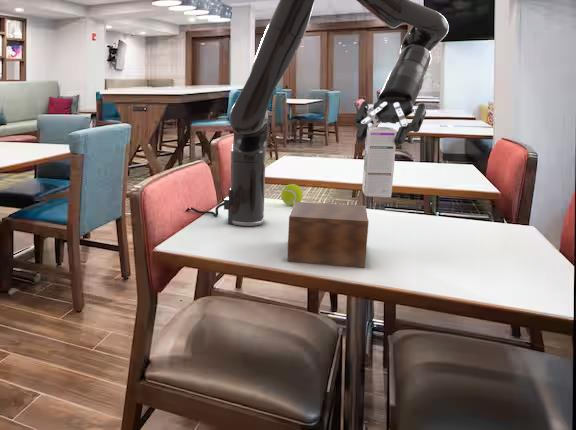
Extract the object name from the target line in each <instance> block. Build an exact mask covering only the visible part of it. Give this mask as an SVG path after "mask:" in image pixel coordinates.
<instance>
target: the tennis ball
mask: <svg viewBox="0 0 576 430" xmlns="http://www.w3.org/2000/svg"><path fill="white" fill-rule="evenodd" d="M280 197H281V200H282V201H283V203H284V204H285V205H287V206H292V207H293V206H294V203H295V202H302V200H303V197H304V193H303V190H302V188H301V187H300V186H299V185H297V184H294V183H290V184H287V185H285V186H284V187H283V188H282V190H281V192H280Z"/></svg>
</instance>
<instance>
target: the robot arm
mask: <svg viewBox="0 0 576 430" xmlns="http://www.w3.org/2000/svg"><path fill="white" fill-rule="evenodd" d="M315 1H316V0H279V1H278V4H277V6H276V8H275V9H274V12H273V13H272V16H271V18H270V20H269V22H268V25H267V26H266V29H265V31H264V34H263V37H262V38H261V41H260V44H259V47H258V49H257V52H256V55H255V57H254V60H253V63H252V65H251V66H252V67H251V70H250V72H249V75H248V77H247V80H246V81H245V84H244V85H243V87H242V89H241V91H240V93H239V95H238V97H237V99H236V100H235V102H234V104H233V106H232V107H231V109H230V111H229V124H230V127H231V129H232V130H233V140H232V145H231V150H230V183H229V184H230V185H229V187H230V188H229V189H228V196H226V197H225V198H224V199H223V202H222V203H219V204H218V205H217V206H216V207H215V210H214V211H215V212H214V211H211V210H198V209H196V208H194V207H191V206H190V207H191V209H189V207H187V208H185V212H189V211H192V212H195V213H197V214H202V215H205V214H206V215H213V216H214V217H218V216H219V209H220V208H221V207H223V210H224V211H225V210H227V224H229V225H235V226H238V227H239V226H240V227H257V226H262V225H263V224H264V223H265V214H264V213H265V190H266V189H265V187H266V186H265V185H266V184H265V183H266V156H267V149H268V138H269V137H268V133H269V112H268V108H269V105H270V102H271V99H272V97H273V95H274V92H275V90H276V88H277V86H278V84H279V83H280V81H281V80H282V78H283V77H284V75H285V74H286V72H287V71H288V69H289V68H290V66H291V64H292V62H293V60H294V58H295V57H296V54H297V53H298V51H299V48H300V46H301V44H302V42H303V39H304V37H305V34H306V32H307V29H308V26H309V24H310V20H311V16H312V12H313V9H314V5H315ZM356 2H358V3H359V4H360V5H361V6H362V7H363V8H364V9H366V10H367V11H368V12H370V13H371V14H372V15H373V16H374V17H376V18H377V19H378V20H379V21H380V22H382V23H383V24H385V26H387V27H388V28H390V29H397V28H398V27H400V26H401V25H404V24H406V25H409V26H411V28H410V29H409V30H408V31H407V32H406V34H405V35H404V37H403V39H402V41H401V45H400V50H399V55H398V57H397V59H396V62H395V64H394V65H393V67H392V69H391V71H390V72H389V74H388V76H387V78H386V80H385V83H384V85H383V86H382V89H381V92H380V93H379V96H378V99H377V101H376V102H375V103H368V101H366V100H365V101H362V102H361V104H360V106H359V108H358V110H357V113H356V115H355V117H354V119H353V121H354V123H355V127H356V128H357V129H358V130H357V132H356V139H357V141H358V143H359V144H364V142H365V141H366V132H367V127H378V125H380V124H387V123H389V124H393V125H394V124H397V123H399V127H398V130H397V134H396V137H395V139H394V143H395V146H396V147H401V145H403V144H404V143H405V141H406V139H407V136H408V134H410V132H411V133H412V132H414V133H418V132H419V131H421V130H420V129H421V127H422V125H423V122H424V120H425V117H426V115H427V110H426V109H427V108H426V104H425V103H423V102H421V103H419V104H418V105H415V103H416V101H417V99H418V96H419V94H420V91H421V90H422V88H423V84H424V81H425V76H426V74H427V72H428V69H429V67H430V64H431V61H432V55H431V51H432V50H433V49H434V48H435V47H436V46H437V45H438V44H439V43H441V41H442V40H443V39H444V38H445V37H446V36H447V34H448V32H449V23H448V21H447V19H446V18H445V16H444V15H442V13H440V12H438V11H437V10H435V9H432V8H429V7H427V6H425V5H422V4H420V3H417V2H416V1H415V2H414V1H412V0H356ZM412 113H413V114H414V115H413V118H412V120H411V122H408V121H407V117H408V116H410V115H412ZM179 301H180V302H183V300H182V299H180V300H179Z"/></svg>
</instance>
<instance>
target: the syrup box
mask: <svg viewBox="0 0 576 430" xmlns="http://www.w3.org/2000/svg"><path fill="white" fill-rule="evenodd" d="M397 132H398V130H397V129H395V128H393V127H388V126H387V127H386V126H373V127H367V132H366V138H365V144H364V145H365V146H364V160H363V171H362V188H361V191H362V194H363V196H364V197H371V198H392V192H393V184H394V183H393V181H394V170H395V157H396V147H397V146H395V143H394V139H395V137H396V134H397Z"/></svg>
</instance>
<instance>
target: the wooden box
mask: <svg viewBox="0 0 576 430" xmlns="http://www.w3.org/2000/svg"><path fill="white" fill-rule="evenodd" d="M287 232H288V233H287V235H288V236H287V257H286V258H287V259H286V261H287V262H289V263H290V262H292V263H305V264H315V265H325V266H327V265H328V266H340V267H351V268H352V267H353V268H364V269H365V268H366V258H367V248H368V247H367V246H368V233H369V217H368V212H367V206H366V205H362V204H347V203H346V204H344V203H326V202H325V203H324V202H308V201H300V202H295V203H294V205H293V206H292V208H291V210H290V214H289V215H288V231H287Z"/></svg>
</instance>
